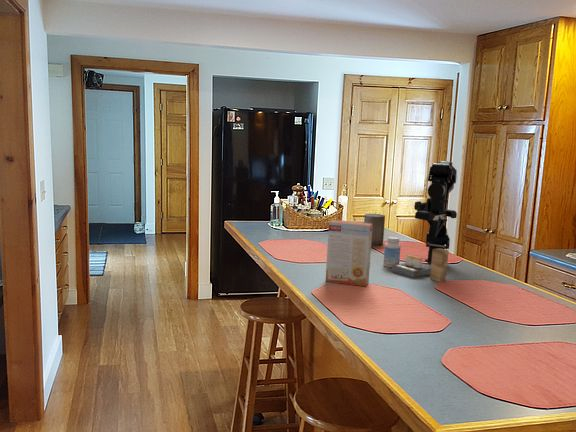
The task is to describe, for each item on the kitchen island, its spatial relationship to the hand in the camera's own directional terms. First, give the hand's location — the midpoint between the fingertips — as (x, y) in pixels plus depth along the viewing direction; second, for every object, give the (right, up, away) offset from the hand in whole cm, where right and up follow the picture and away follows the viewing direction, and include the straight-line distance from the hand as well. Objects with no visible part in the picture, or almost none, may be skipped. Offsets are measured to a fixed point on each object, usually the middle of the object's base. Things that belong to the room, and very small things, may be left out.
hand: (434, 236), depth 202 cm
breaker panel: (-9, -13, -5) cm, 17 cm away
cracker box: (-36, -15, -22) cm, 45 cm away
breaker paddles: (-9, -11, -5) cm, 15 cm away
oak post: (-2, -15, -12) cm, 19 cm away
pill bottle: (-16, -12, +5) cm, 20 cm away
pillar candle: (-16, -5, +49) cm, 51 cm away
